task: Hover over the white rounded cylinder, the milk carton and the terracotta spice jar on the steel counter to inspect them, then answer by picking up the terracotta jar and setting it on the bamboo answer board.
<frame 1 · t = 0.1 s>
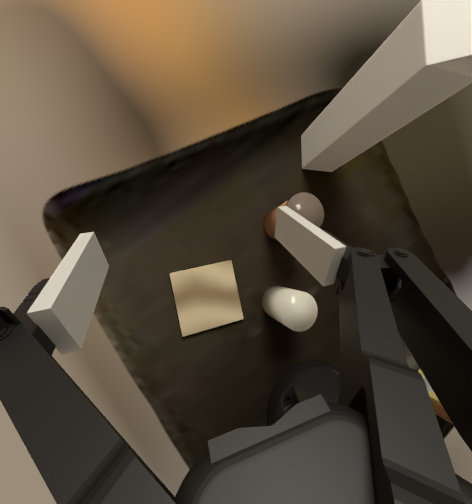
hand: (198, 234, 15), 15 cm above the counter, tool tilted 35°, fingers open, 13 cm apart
answer board: (207, 296, 30), on the counter
candy box: (425, 390, 39), on the counter
milk: (315, 154, 36), on the counter
jar: (277, 224, 33), on the counter
white rounded cylinder: (276, 301, 33), on the counter
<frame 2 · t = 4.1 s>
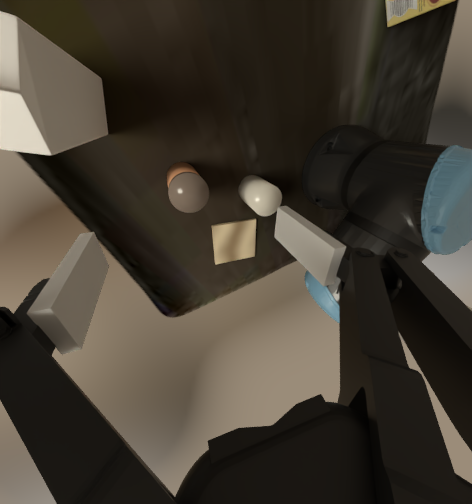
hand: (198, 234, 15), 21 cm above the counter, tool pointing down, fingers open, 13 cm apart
answer board: (234, 241, 43), on the counter
milk: (77, 102, 25), on the counter
jar: (182, 178, 33), on the counter
white rounded cylinder: (251, 188, 38), on the counter
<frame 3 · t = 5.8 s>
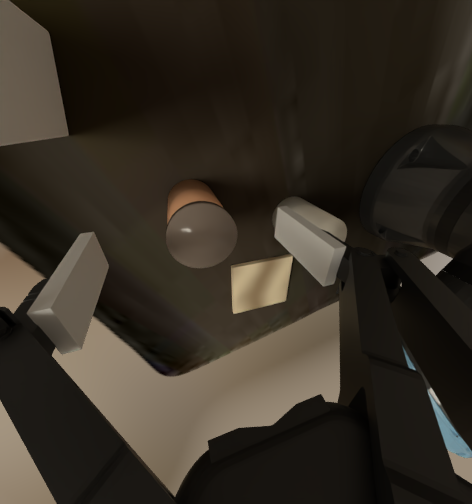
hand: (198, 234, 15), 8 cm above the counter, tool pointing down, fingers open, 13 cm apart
answer board: (260, 283, 31), on the counter
milk: (7, 77, 14), on the counter
jar: (192, 203, 22), on the counter
white rounded cylinder: (289, 215, 26), on the counter
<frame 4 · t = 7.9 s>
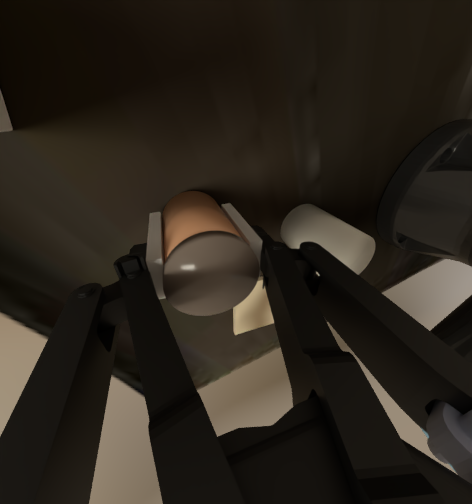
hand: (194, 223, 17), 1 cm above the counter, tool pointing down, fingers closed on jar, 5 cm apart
answer board: (265, 300, 27), on the counter
jar: (193, 220, 17), point 1 cm above the counter, touching gripper
white rounded cylinder: (300, 225, 22), on the counter
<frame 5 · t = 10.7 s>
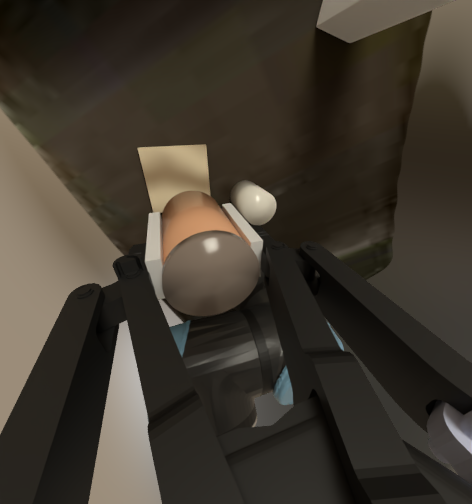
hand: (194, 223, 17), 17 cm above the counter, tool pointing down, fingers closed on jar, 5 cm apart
answer board: (178, 179, 30), on the counter
milk: (341, 4, 26), on the counter
jar: (193, 220, 17), point 16 cm above the counter, touching gripper
white rounded cylinder: (244, 195, 35), on the counter
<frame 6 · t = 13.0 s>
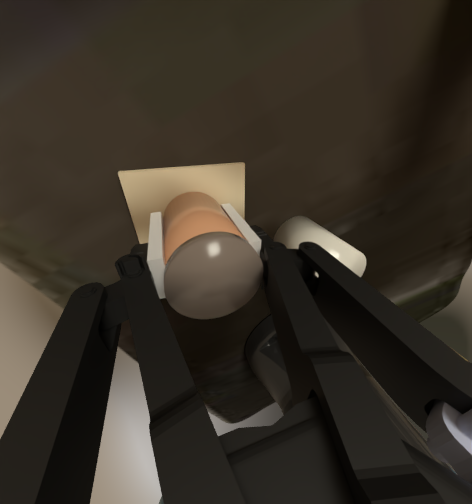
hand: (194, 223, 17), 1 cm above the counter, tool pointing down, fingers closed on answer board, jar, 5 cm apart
answer board: (193, 221, 18), on the counter
jar: (194, 221, 17), point 1 cm above the counter, touching answer board, gripper
white rounded cylinder: (293, 237, 22), on the counter
when the fingers open (1 cm above the counter, at t = 13.1 s): jar stays where it is, resting on answer board.
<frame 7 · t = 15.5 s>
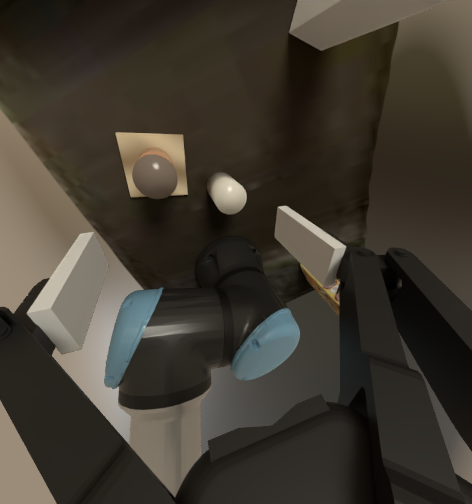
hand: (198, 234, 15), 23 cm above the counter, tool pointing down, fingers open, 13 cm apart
answer board: (155, 166, 32), on the counter
candy box: (309, 269, 58), on the counter
milk: (313, 14, 28), on the counter
jar: (156, 165, 32), point 1 cm above the counter, touching answer board
white rounded cylinder: (220, 186, 37), on the counter
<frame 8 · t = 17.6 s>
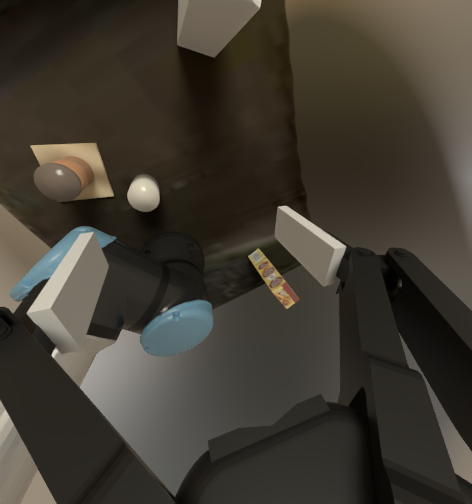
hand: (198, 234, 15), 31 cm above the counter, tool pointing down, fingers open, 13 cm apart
answer board: (77, 172, 36), on the counter
candy box: (259, 260, 60), on the counter
milk: (197, 26, 31), on the counter
jar: (76, 171, 35), point 1 cm above the counter, touching answer board
white rounded cylinder: (145, 187, 40), on the counter
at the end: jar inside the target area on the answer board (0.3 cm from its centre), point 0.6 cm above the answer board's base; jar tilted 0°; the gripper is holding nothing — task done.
